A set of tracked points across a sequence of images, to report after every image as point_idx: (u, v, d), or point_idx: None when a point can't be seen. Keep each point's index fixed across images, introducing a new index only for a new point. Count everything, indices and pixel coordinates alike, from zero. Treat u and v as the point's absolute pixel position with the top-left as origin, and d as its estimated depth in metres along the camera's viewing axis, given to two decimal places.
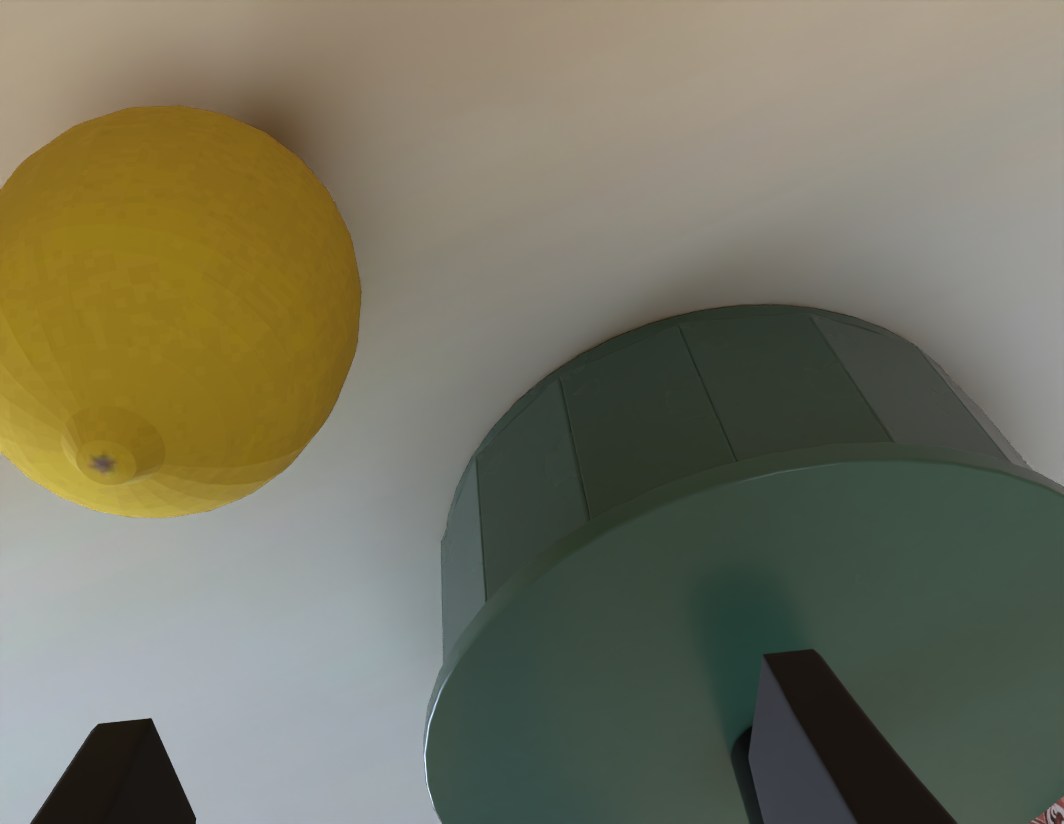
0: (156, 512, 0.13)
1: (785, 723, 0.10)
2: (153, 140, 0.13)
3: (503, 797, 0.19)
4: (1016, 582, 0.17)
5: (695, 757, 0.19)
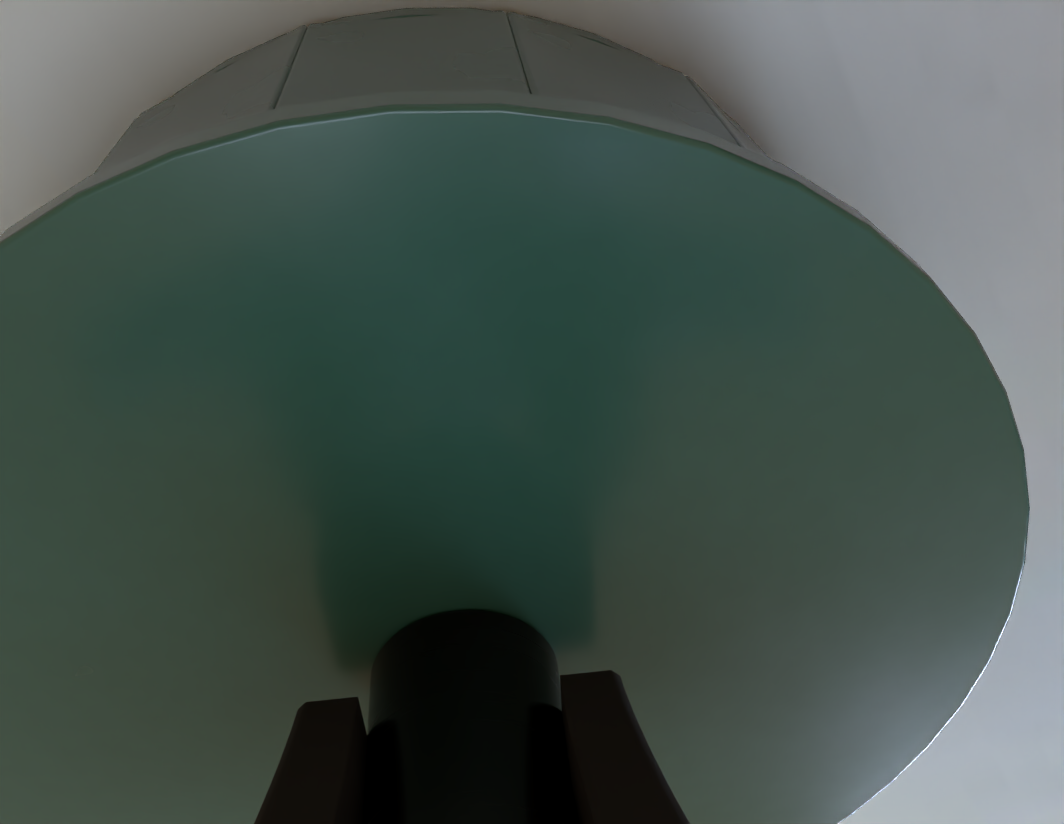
0: None
1: (569, 746, 0.10)
2: None
3: None
4: (41, 482, 0.10)
5: None
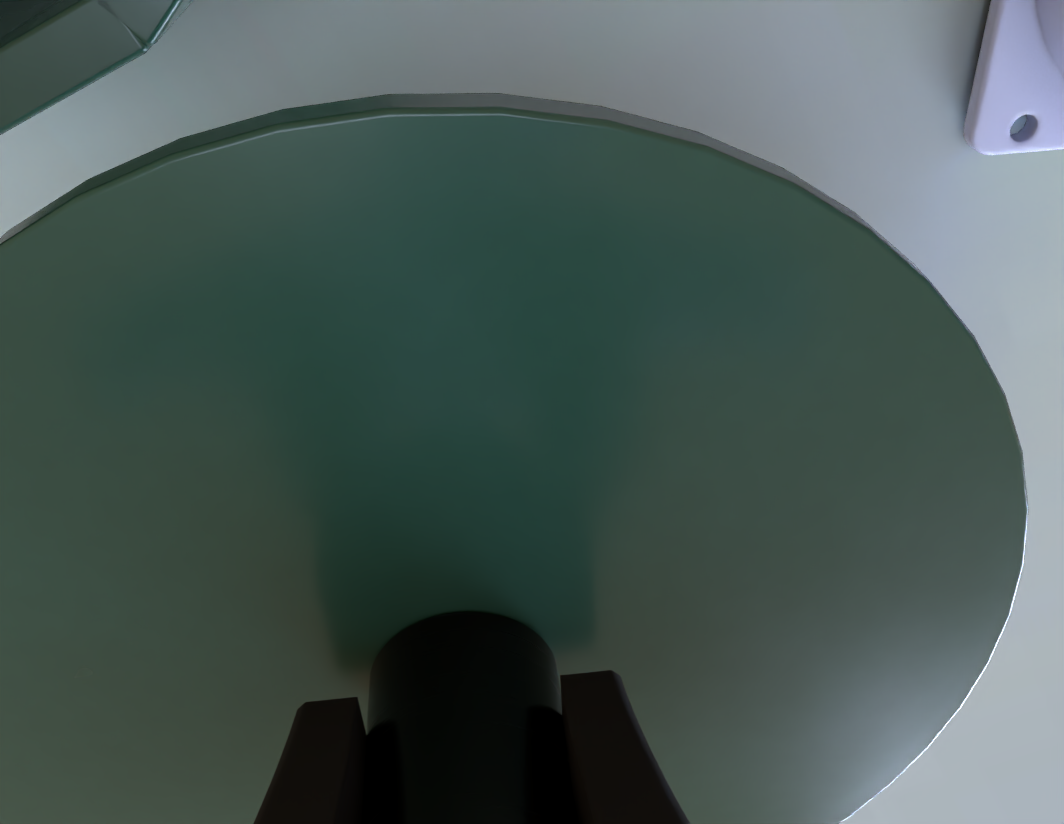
0: None
1: (569, 746, 0.10)
2: None
3: None
4: (40, 485, 0.10)
5: None
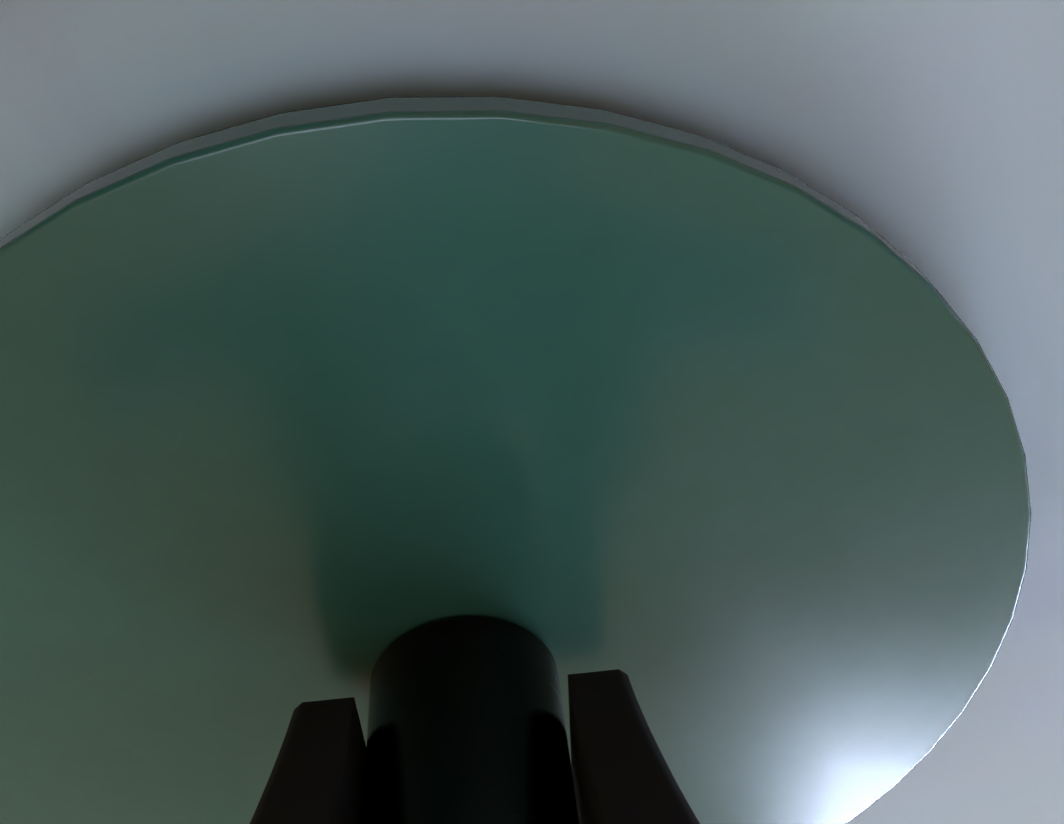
0: None
1: (577, 746, 0.10)
2: None
3: None
4: (40, 489, 0.10)
5: None
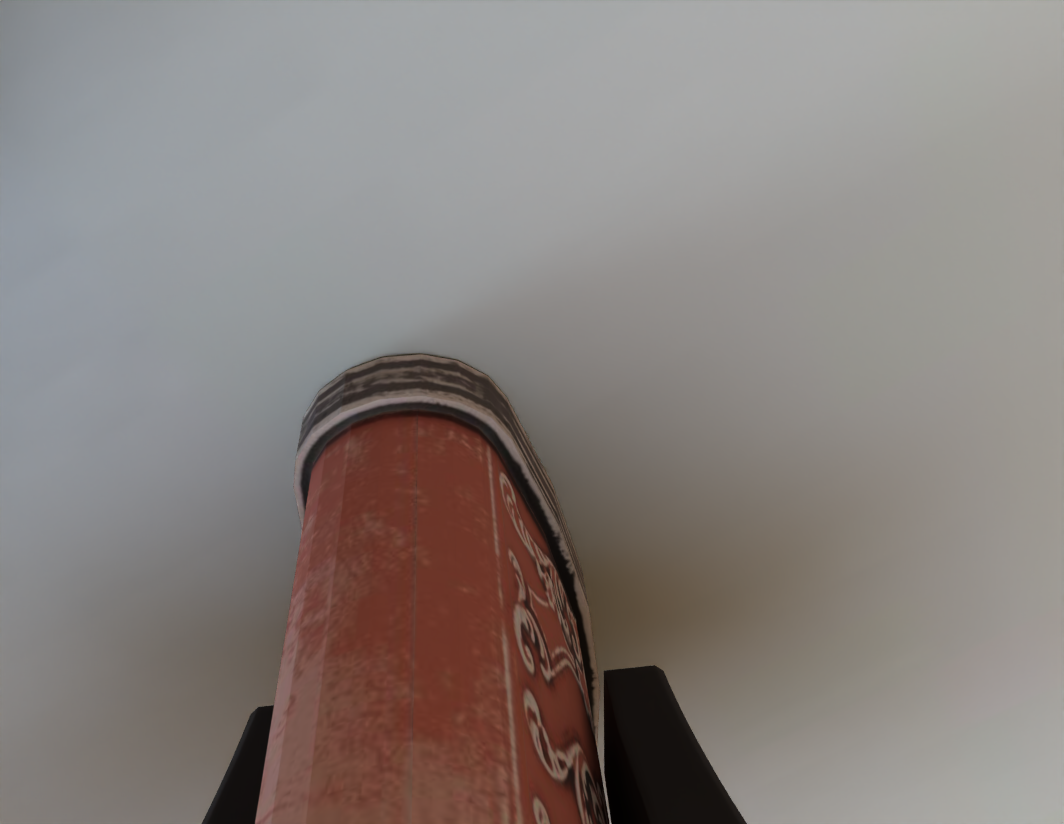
0: None
1: (616, 741, 0.10)
2: None
3: None
4: None
5: None
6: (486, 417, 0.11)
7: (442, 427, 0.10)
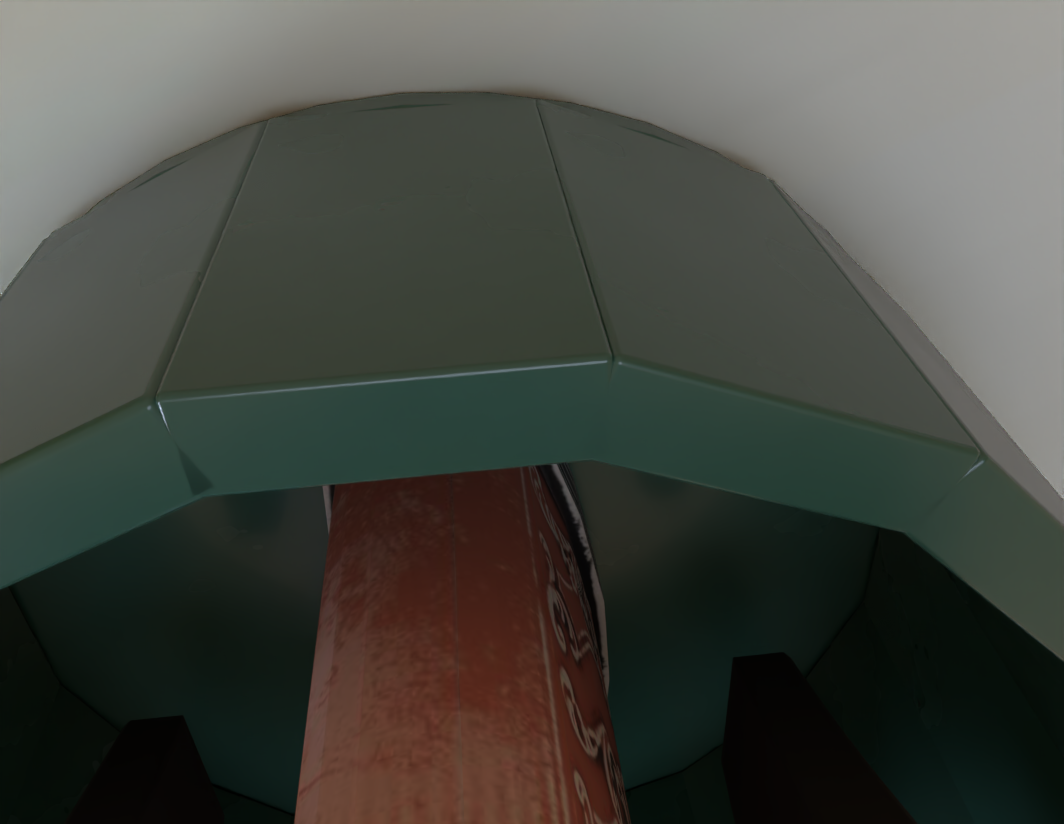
0: None
1: (753, 726, 0.10)
2: None
3: None
4: None
5: None
6: None
7: None
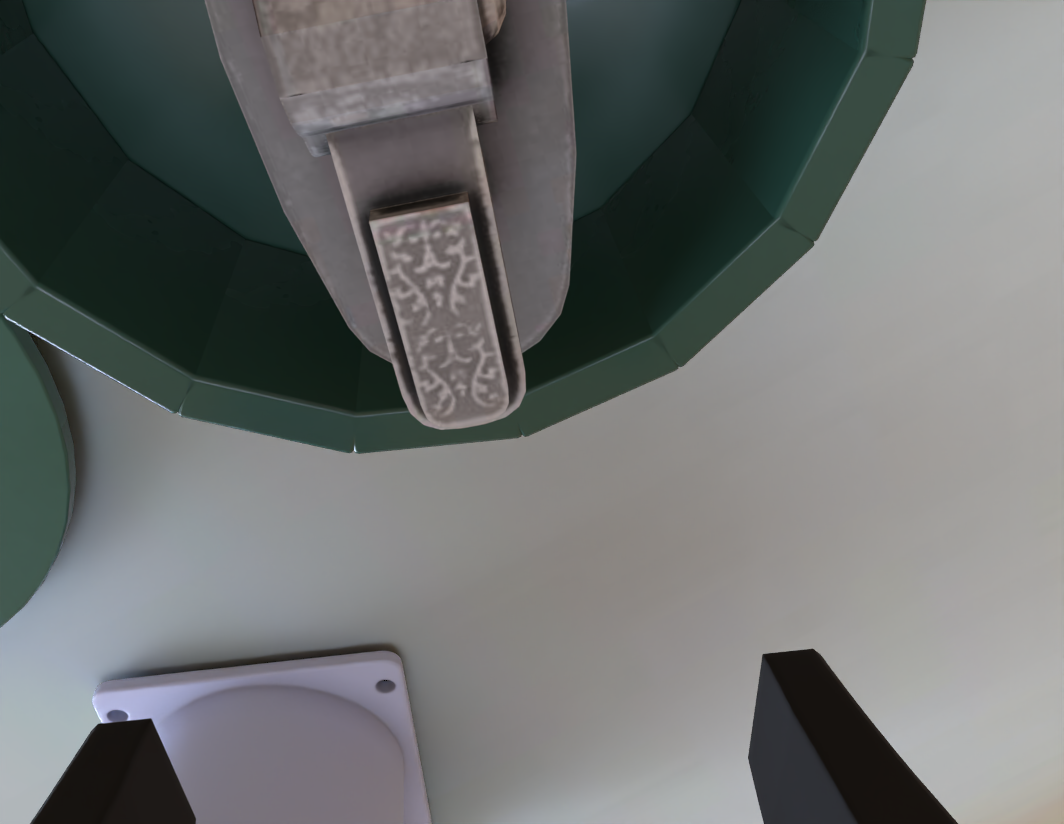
0: None
1: (785, 723, 0.10)
2: None
3: None
4: None
5: None
6: None
7: None
